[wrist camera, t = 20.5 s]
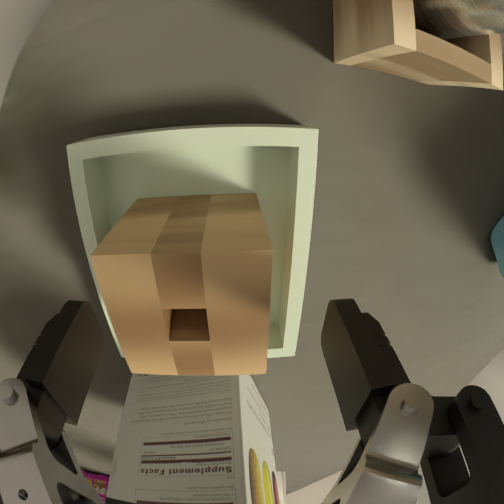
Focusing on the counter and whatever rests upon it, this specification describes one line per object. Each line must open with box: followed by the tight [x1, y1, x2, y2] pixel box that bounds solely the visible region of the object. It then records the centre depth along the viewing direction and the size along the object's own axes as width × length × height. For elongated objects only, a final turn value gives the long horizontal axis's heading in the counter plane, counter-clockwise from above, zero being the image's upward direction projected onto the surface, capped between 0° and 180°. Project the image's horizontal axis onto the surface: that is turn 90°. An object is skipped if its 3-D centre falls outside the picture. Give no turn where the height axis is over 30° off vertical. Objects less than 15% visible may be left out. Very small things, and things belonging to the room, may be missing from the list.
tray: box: [66, 124, 319, 358], centre depth 15 cm, size 13×11×3 cm
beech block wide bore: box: [333, 0, 503, 90], centre depth 8 cm, size 6×6×6 cm
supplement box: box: [106, 373, 280, 504], centre depth 15 cm, size 10×9×17 cm
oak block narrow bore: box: [90, 193, 273, 376], centre depth 13 cm, size 6×6×6 cm
